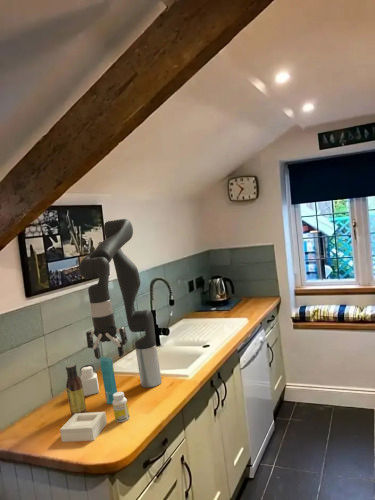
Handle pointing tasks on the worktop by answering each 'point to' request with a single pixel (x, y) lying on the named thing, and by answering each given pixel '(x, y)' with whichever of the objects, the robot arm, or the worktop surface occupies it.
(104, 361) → the tube
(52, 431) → the worktop surface
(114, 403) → the supplement bottle
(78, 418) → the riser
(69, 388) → the sauce bottle
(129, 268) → the robot arm
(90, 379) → the medicine bottle
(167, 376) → the worktop surface
